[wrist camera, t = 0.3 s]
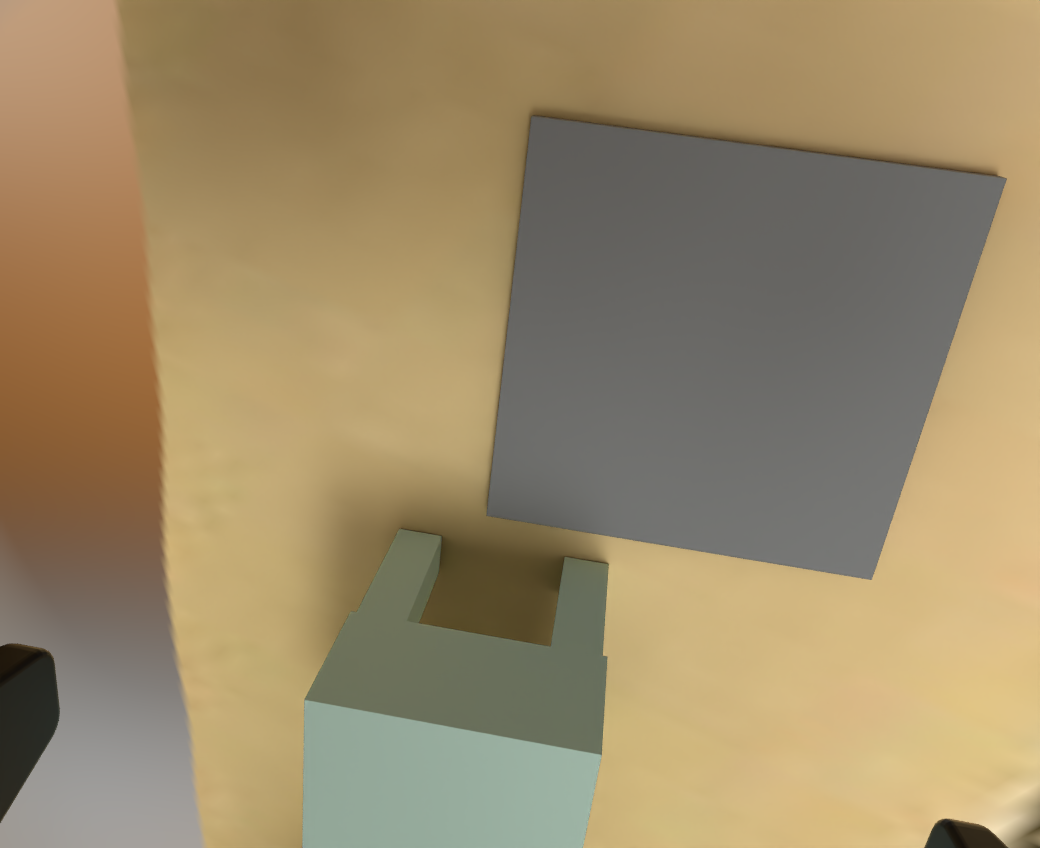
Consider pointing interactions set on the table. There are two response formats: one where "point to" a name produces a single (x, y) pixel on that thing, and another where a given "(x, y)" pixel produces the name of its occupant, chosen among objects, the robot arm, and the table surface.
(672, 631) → the table surface
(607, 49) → the table surface
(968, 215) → the mat
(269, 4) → the table surface
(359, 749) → the notched green block
